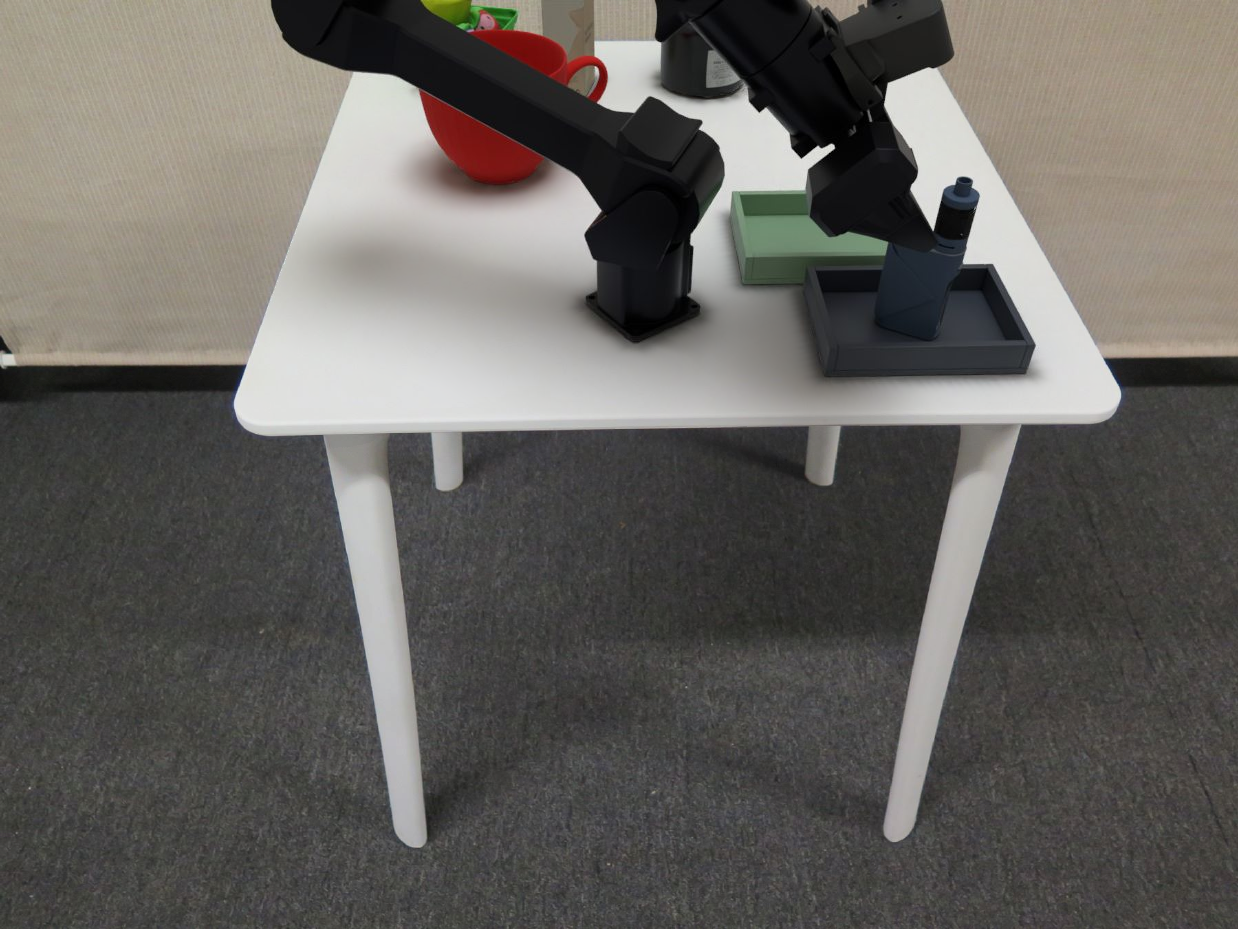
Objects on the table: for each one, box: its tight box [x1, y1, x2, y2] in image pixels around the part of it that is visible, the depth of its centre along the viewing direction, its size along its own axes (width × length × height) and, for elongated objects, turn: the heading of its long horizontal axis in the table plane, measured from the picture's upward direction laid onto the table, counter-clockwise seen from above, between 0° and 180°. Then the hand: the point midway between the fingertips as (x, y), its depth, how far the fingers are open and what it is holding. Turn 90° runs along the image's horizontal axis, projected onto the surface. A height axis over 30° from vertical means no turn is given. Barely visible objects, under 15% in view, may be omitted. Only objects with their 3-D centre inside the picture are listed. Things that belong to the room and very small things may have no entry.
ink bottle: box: [659, 22, 744, 97], centre depth 102 cm, size 10×9×12 cm
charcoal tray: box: [802, 263, 1037, 377], centre depth 74 cm, size 14×10×2 cm
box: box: [540, 0, 596, 97], centre depth 102 cm, size 5×4×11 cm
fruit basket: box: [421, 0, 519, 32], centre depth 104 cm, size 11×9×11 cm
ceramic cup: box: [418, 29, 609, 185], centre depth 90 cm, size 13×17×10 cm
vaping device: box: [874, 175, 981, 340], centre depth 70 cm, size 3×5×12 cm, turn 61°
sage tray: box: [729, 189, 888, 285], centre depth 82 cm, size 14×10×2 cm
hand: (920, 211), depth 68 cm, fingers open, 9 cm apart
